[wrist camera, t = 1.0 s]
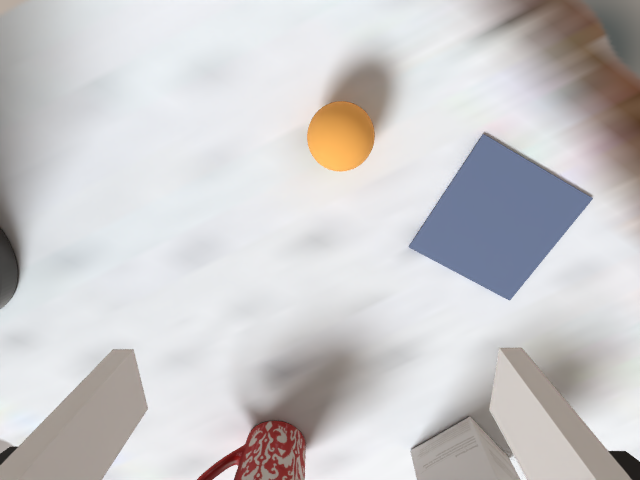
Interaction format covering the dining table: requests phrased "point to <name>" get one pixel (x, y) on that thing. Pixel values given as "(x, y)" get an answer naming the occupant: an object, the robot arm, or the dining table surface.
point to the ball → (340, 136)
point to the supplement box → (462, 456)
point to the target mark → (498, 218)
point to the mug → (266, 455)
